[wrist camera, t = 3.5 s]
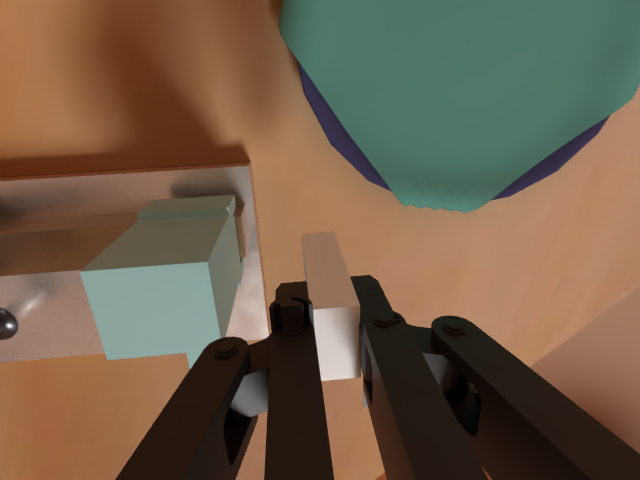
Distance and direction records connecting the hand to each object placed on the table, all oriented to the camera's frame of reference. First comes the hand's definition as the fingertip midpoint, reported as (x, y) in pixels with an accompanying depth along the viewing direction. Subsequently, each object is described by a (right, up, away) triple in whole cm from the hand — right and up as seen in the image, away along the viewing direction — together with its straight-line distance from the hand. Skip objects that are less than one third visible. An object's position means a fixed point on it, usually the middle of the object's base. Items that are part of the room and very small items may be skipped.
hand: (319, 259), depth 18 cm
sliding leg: (-7, 0, +6) cm, 9 cm away
